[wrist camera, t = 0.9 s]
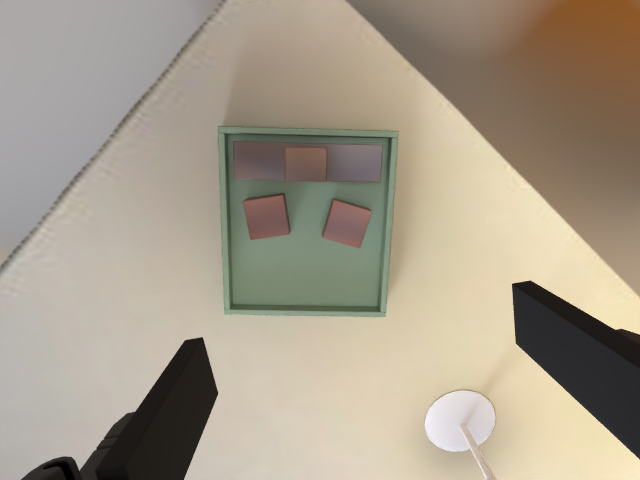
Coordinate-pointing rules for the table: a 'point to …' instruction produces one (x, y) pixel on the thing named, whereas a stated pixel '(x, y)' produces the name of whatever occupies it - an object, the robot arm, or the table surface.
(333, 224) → the chip
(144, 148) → the table surface
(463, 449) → the wineglass
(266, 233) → the chip
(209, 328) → the table surface
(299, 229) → the tray
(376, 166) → the brown piece
